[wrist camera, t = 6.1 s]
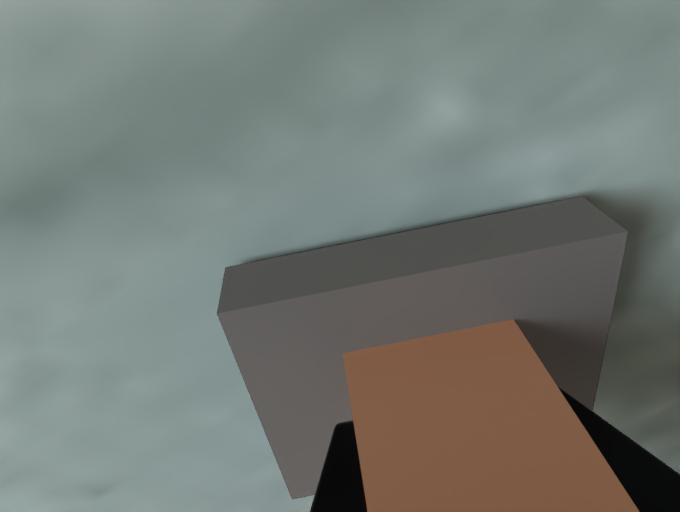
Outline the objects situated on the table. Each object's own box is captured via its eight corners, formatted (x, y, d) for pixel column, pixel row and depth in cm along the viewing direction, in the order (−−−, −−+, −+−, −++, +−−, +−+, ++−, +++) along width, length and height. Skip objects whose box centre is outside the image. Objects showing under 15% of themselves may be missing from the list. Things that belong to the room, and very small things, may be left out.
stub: (582, 196, 9) (1122, 612, 3) (556, 393, 12) (808, 786, 6) (225, 267, 9) (124, 811, 3) (291, 446, 12) (299, 888, 6)
